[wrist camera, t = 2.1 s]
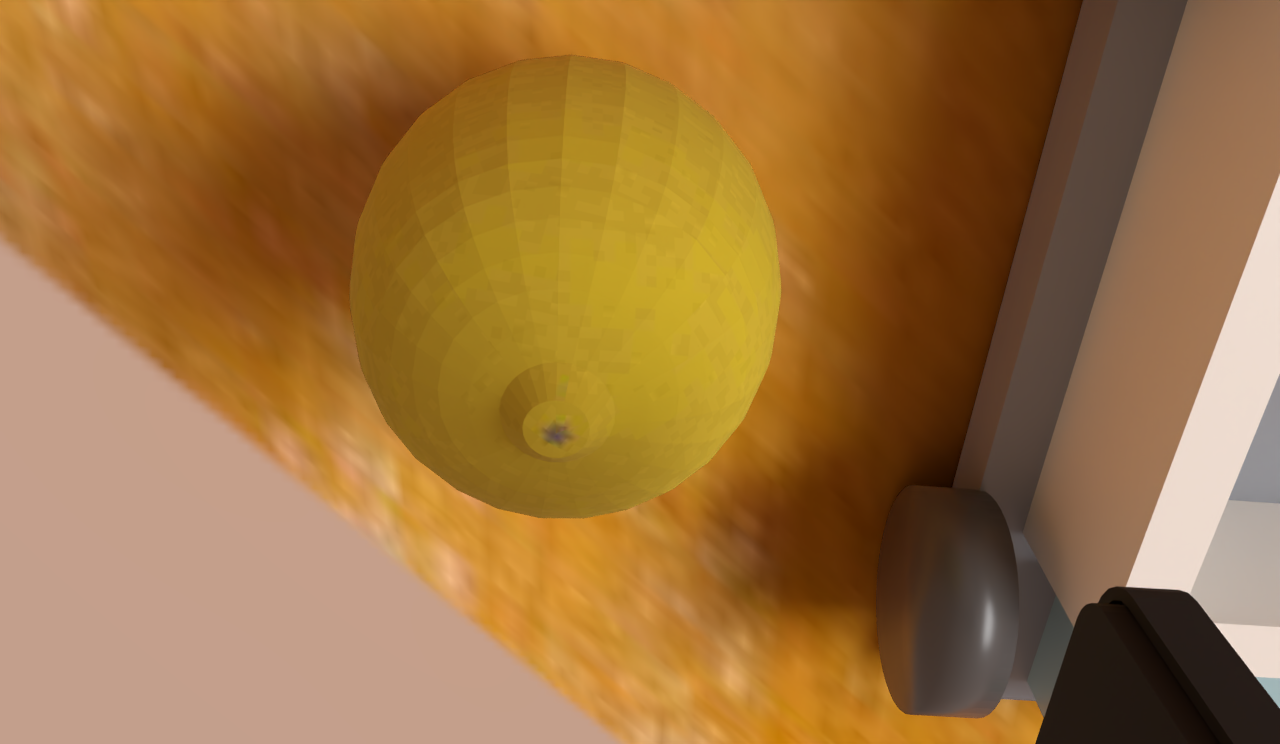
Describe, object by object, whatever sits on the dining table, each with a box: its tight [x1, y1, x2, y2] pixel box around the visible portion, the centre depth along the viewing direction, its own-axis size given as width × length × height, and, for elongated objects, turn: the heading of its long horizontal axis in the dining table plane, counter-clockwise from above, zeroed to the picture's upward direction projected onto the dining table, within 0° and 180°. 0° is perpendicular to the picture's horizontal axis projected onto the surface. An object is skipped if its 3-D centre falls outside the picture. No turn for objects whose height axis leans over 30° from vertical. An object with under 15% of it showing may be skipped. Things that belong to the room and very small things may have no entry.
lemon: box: [349, 55, 781, 518], centre depth 15 cm, size 6×6×8 cm
